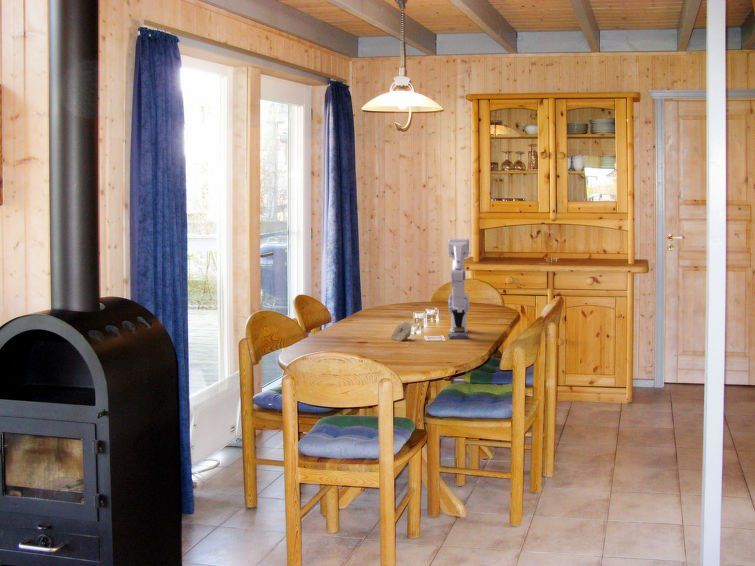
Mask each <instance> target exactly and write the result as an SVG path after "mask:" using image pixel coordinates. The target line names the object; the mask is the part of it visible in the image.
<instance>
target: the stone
mask: <svg viewBox="0 0 755 566" xmlns="http://www.w3.org/2000/svg"><path fill="white" fill-rule="evenodd" d="M411 332H412V326H411V323H410V321H403V322H401V323H399V324H397V326H396V327H395V328H394V330H393V332H392V334H391V336H390V338H391V340H392V341H397V342H402V341H405V340H407V339H408V338H410V336H411Z"/></svg>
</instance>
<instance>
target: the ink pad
mask: <svg viewBox="0 0 755 566" xmlns="http://www.w3.org/2000/svg"><path fill="white" fill-rule="evenodd" d="M447 338H448V339H449V340H469V339H470V336H469V335H468V333H467V332H459V333H455V332H449V333H448V334H447Z"/></svg>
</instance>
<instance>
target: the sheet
mask: <svg viewBox="0 0 755 566" xmlns="http://www.w3.org/2000/svg"><path fill="white" fill-rule="evenodd" d="M423 337H424V341H425V342H446V341H447V340H446V338H445V337H444V335H442V334H441V335H438V334H437V335H435V334H434V335H423Z"/></svg>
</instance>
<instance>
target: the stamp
mask: <svg viewBox="0 0 755 566" xmlns="http://www.w3.org/2000/svg"><path fill="white" fill-rule="evenodd" d="M453 333H466V332H465V328H464V327H463V326H462V325H461V327H454V332H453Z"/></svg>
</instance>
